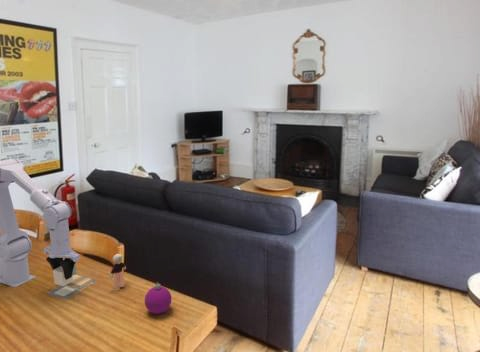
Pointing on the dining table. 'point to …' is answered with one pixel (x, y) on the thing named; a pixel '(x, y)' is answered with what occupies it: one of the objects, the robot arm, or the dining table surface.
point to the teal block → (74, 270)
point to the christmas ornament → (158, 299)
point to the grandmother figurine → (118, 272)
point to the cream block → (60, 277)
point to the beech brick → (79, 282)
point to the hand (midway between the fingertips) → (63, 276)
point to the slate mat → (67, 290)
